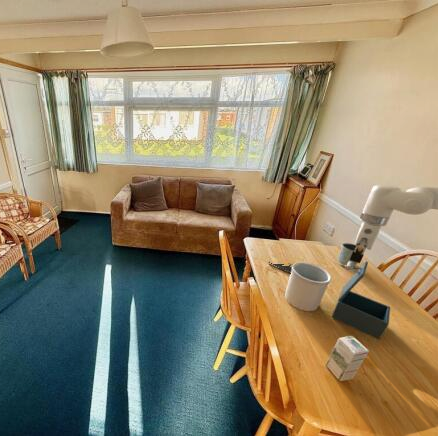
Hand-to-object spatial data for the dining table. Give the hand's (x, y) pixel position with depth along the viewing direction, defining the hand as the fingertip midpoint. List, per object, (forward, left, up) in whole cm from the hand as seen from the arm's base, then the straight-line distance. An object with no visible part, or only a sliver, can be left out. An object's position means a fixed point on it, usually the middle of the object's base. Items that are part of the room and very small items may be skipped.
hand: (356, 256), depth 92 cm
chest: (-9, -1, -30) cm, 31 cm away
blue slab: (-3, -2, -13) cm, 13 cm away
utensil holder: (+12, 0, -30) cm, 33 cm away
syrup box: (-1, +32, -30) cm, 44 cm away
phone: (+22, -26, -30) cm, 45 cm away
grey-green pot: (-9, -51, -30) cm, 60 cm away
